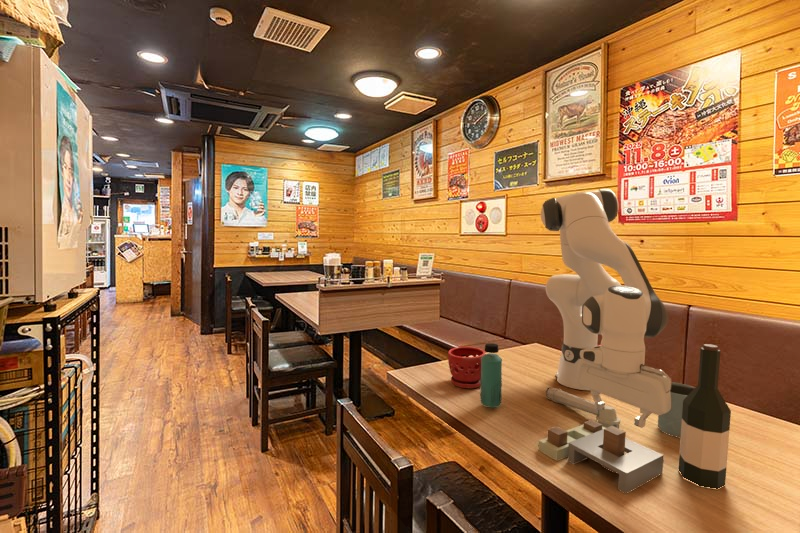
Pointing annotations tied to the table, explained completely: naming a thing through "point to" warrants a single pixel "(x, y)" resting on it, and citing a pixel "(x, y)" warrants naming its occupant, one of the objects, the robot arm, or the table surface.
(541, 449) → the peg rack
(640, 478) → the hole bridge
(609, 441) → the pin long
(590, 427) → the pin short
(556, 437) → the pin medium
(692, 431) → the wine bottle
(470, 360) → the plant pot
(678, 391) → the grey cup
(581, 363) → the robot arm
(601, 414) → the beige long piece
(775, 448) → the table surface
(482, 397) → the beverage bottle
